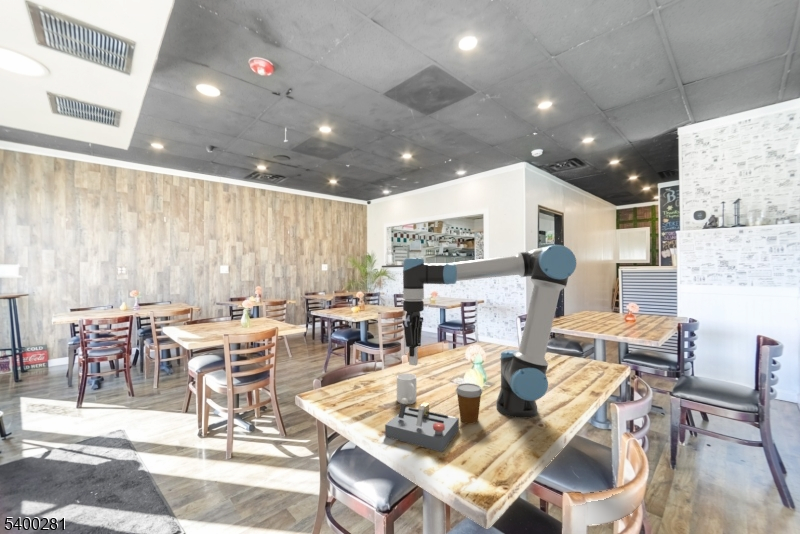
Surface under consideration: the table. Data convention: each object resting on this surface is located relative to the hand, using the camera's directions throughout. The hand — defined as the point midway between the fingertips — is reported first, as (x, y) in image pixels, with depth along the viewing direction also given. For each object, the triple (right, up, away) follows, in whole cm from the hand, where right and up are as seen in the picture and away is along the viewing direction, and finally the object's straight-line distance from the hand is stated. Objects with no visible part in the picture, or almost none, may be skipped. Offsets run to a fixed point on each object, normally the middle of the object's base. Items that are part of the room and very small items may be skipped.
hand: (413, 364), depth 122 cm
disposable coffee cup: (+21, -21, 0) cm, 29 cm away
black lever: (-5, -17, -9) cm, 19 cm away
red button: (+7, -16, -18) cm, 25 cm away
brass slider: (+4, -17, -5) cm, 18 cm away
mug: (-1, -21, +17) cm, 27 cm away
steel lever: (+1, -16, -15) cm, 22 cm away
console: (+3, -21, -9) cm, 23 cm away
